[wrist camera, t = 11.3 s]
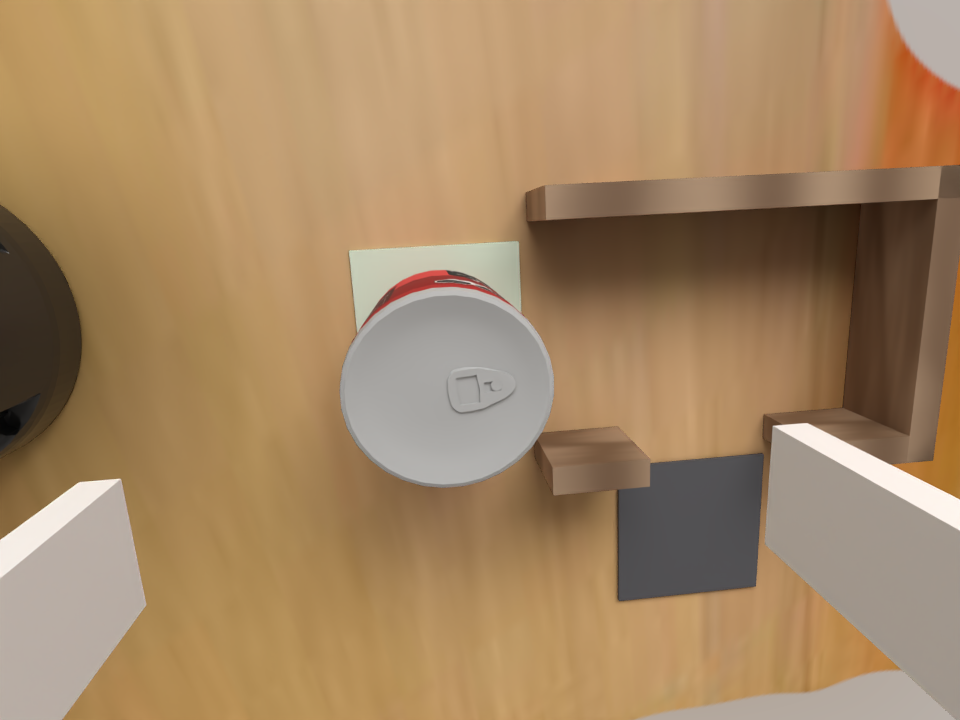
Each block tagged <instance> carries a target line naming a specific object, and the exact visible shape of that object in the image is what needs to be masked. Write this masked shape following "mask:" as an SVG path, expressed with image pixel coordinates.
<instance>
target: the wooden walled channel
mask: <svg viewBox="0 0 960 720" xmlns="http://www.w3.org/2000/svg"><path fill="white" fill-rule="evenodd" d="M845 204H861V212H860V223H859V234H858V245H857V256H856V267H855V278H854V289H853V300H852V311H851V322H850V334H849V345H848V356H847V367H846V378H845V389H844V400H843V408H835V409H823V410H811V411H799V412H787V413H775V414H764V426H763V438H764V439H765V440H767V441H769V442H770V443H772V430H773V426H777V425H789V424H801V423H808V424H810V425H812V426H814V427H816V428H818V429H820V430H822V431H824V432H826V433H828V434H830V435H832V436H834V437H836V438H838V439H840V440H842V441H844V442H846V443H848V444H850V445H852V446H854V447H856V448H858V449H860V450H862V451H864V452H866V453H868V454H870V455H872V456H874V457H876V458H878V459H880V460H882V461H884V462H886V463H888V464H900V463H911V462H922V461H933V457H934V449H935V441H936V434H937V426H938V418H939V410H940V403H941V395H942V387H943V379H944V372H945V364H946V356H947V348H948V341H949V333H950V325H951V317H952V310H953V302H954V294H955V286H956V279H957V271H958V263H959V255H960V165H952V166H931V167H910V168H890V169H869V170H849V171H828V172H808V173H787V174H766V175H746V176H725V177H705V178H684V179H664V180H643V181H622V182H602V183H581V184H561V185H545V186H542V187H539V188H536V189H534V190H531V191H528V192H526V208H527V221H546V220H565V219H584V218H602V217H621V216H640V215H658V214H677V213H696V212H714V211H733V210H752V209H770V208H789V207H808V206H826V205H845ZM534 445H535V459H536V461H537V463H538V465H539V467H540V469H541V471H542V473H543V475H544V477H545V479H546V481H547V483H548V485H549V487H550V490H551V492H552V494H553V495H564V494H575V493H586V492H596V491H607V490H618V489H629V488H640V487H650V458H649V457H648V456H647V455H646V454H645V453H644V452H643V451H642V450H641V449H640V448H639V447H638V446H637V445H636V444H635V443H634V442H633V441H632V440H631V439H630V438H629V437H628V436H627V435H626V434H625V433H624V432H623V431H622V430H621V429H620V428H619V427H606V428H594V429H582V430H570V431H558V432H546V433H541V434H540V436H539V437H538V439H537V440H536V442H535V443H534Z"/></svg>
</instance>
